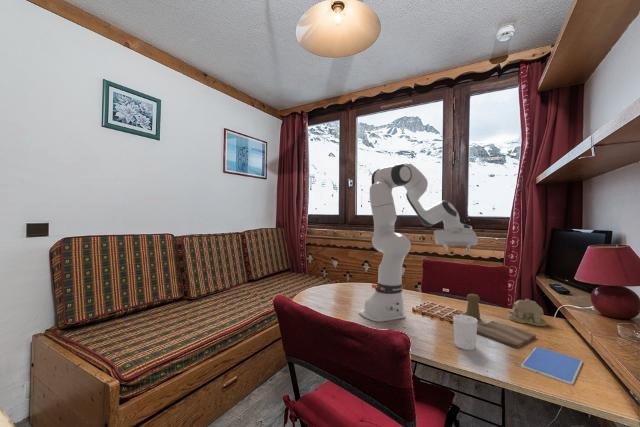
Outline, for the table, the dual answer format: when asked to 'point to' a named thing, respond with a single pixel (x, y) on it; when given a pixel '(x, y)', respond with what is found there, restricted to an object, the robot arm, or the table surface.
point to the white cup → (465, 331)
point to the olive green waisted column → (473, 306)
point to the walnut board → (505, 334)
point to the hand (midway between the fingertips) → (458, 250)
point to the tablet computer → (553, 365)
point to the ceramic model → (527, 313)
